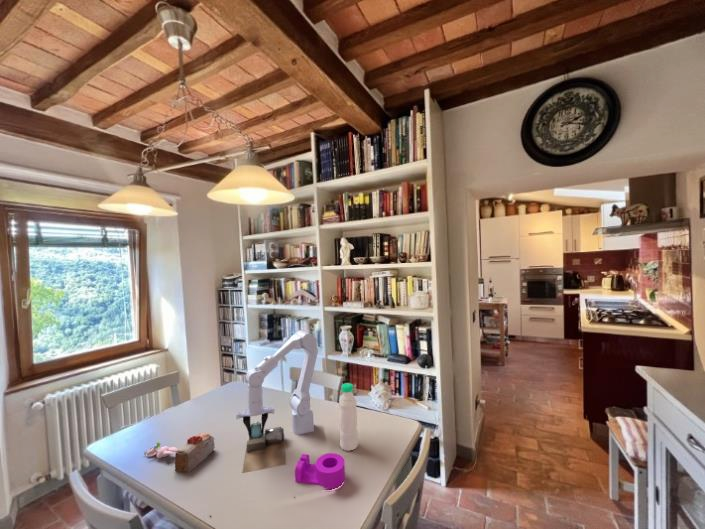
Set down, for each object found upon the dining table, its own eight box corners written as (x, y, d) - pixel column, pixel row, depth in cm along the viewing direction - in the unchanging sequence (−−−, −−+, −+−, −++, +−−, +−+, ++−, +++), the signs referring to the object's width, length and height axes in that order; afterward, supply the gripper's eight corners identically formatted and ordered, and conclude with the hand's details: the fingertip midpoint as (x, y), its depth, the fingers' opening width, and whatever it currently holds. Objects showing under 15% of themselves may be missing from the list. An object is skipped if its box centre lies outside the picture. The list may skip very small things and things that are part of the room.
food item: (199, 450, 119) (198, 426, 119) (216, 452, 118) (215, 427, 117) (172, 474, 106) (171, 447, 106) (191, 477, 104) (190, 449, 104)
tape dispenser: (347, 472, 104) (347, 454, 104) (341, 493, 95) (340, 474, 95) (305, 467, 108) (304, 450, 108) (294, 487, 98) (293, 468, 98)
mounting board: (284, 436, 127) (284, 433, 127) (285, 467, 107) (285, 464, 107) (247, 443, 123) (247, 440, 123) (242, 476, 104) (242, 472, 104)
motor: (283, 435, 125) (283, 422, 125) (284, 445, 119) (283, 431, 118) (248, 442, 122) (247, 428, 122) (246, 452, 115) (246, 438, 115)
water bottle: (360, 443, 120) (358, 382, 120) (353, 453, 114) (351, 389, 114) (345, 439, 123) (343, 380, 123) (337, 449, 117) (335, 386, 117)
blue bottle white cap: (263, 435, 121) (262, 419, 121) (259, 441, 117) (258, 425, 117) (253, 435, 121) (253, 419, 121) (249, 441, 117) (248, 424, 117)
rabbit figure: (140, 462, 115) (169, 462, 111) (138, 446, 115) (167, 446, 111) (155, 452, 121) (183, 452, 117) (153, 437, 121) (181, 437, 117)
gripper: (273, 392, 125) (274, 424, 125) (237, 397, 121) (238, 430, 121) (273, 400, 118) (274, 434, 118) (235, 405, 114) (236, 440, 114)
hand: (256, 433), depth 119 cm, fingers open, 4 cm apart
